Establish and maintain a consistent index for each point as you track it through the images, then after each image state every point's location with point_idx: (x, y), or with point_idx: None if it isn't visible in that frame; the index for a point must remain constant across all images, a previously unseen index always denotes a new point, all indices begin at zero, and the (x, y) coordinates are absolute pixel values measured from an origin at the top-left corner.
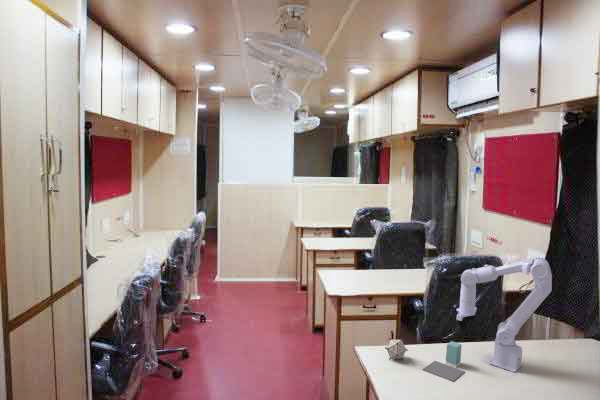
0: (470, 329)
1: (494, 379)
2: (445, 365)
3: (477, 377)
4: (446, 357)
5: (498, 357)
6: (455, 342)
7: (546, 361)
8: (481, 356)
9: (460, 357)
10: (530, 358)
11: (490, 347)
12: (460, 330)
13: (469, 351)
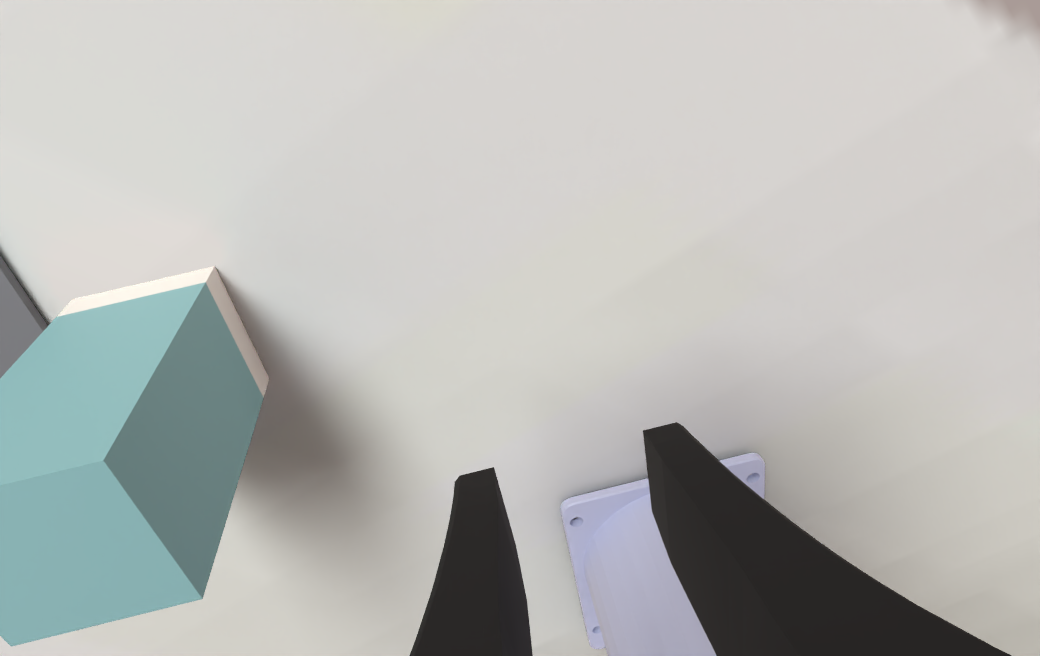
0: (688, 595)
1: (335, 650)
2: (14, 344)
3: (215, 596)
4: (26, 357)
5: (604, 625)
6: (142, 523)
7: (964, 609)
8: (669, 364)
9: (245, 438)
10: (947, 550)
11: (985, 273)
12: (449, 536)
13: (691, 216)
